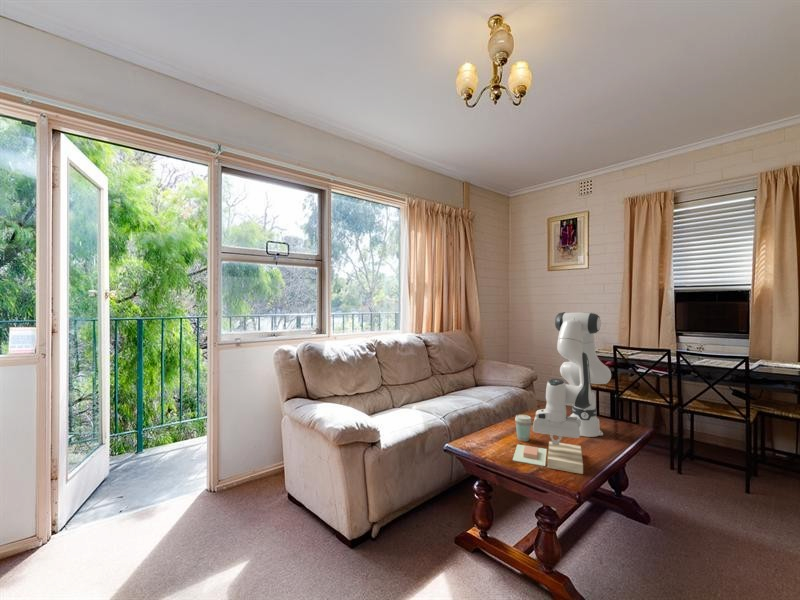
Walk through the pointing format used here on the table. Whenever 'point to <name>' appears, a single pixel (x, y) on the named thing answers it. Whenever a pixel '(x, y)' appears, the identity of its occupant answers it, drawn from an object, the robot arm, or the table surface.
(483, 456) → the table surface
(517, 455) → the mat
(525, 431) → the coffee cup
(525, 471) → the table surface
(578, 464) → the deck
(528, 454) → the pink rectangular block
